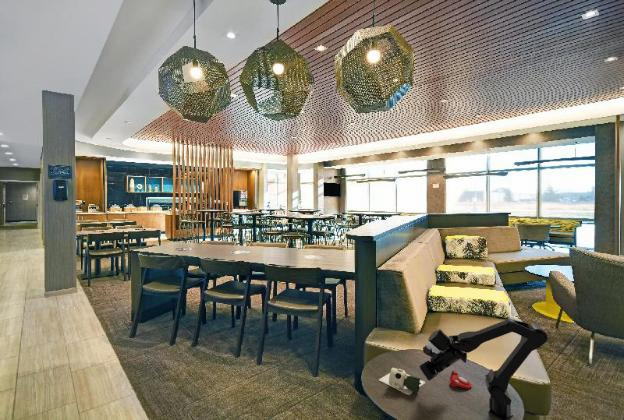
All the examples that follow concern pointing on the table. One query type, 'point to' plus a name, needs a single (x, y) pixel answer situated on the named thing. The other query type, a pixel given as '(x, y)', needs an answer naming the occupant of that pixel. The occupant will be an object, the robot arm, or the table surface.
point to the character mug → (403, 380)
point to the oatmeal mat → (404, 390)
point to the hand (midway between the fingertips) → (424, 373)
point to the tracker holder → (459, 381)
